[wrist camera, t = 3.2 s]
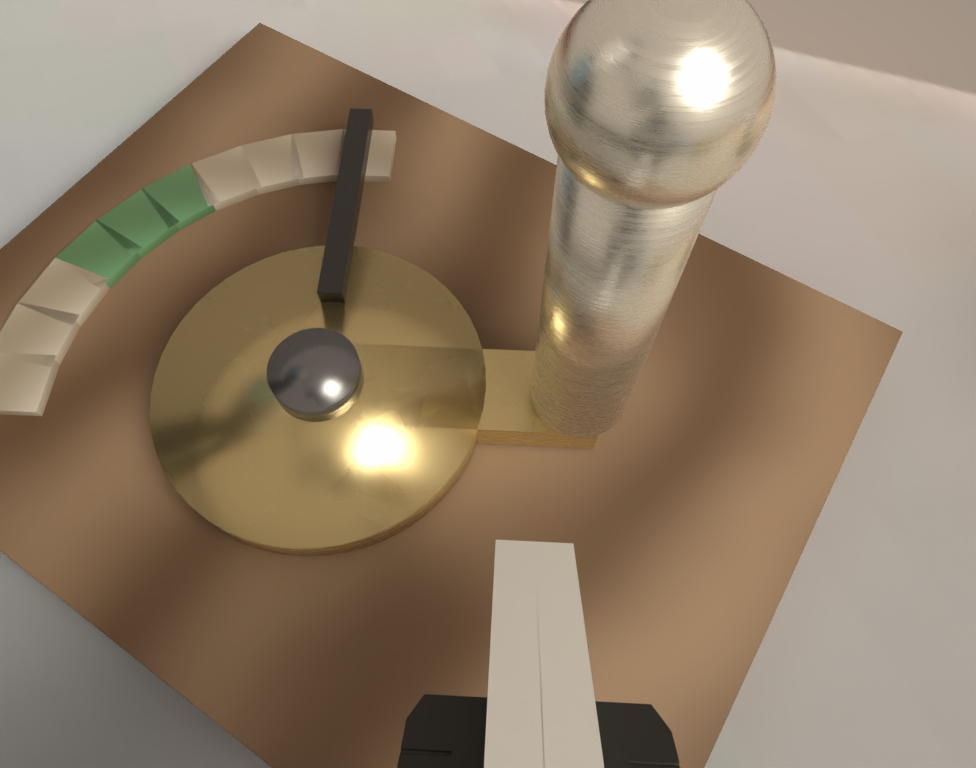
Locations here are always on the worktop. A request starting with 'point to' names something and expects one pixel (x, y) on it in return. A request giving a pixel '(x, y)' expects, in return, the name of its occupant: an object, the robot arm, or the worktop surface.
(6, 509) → the gauge board
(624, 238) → the dial
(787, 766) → the worktop surface
